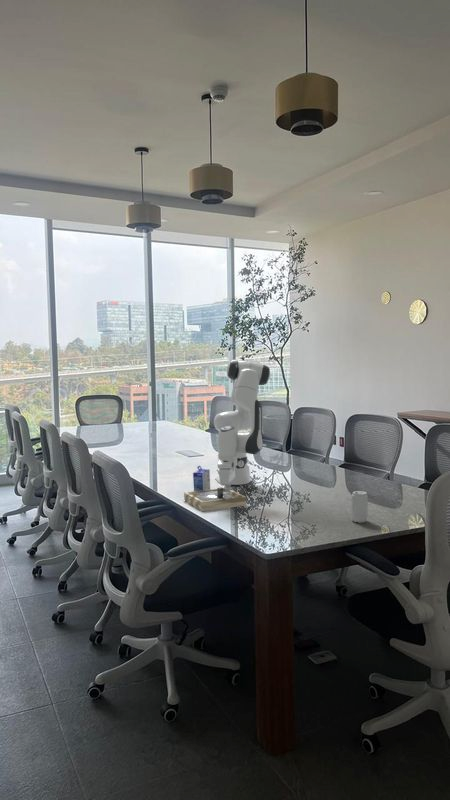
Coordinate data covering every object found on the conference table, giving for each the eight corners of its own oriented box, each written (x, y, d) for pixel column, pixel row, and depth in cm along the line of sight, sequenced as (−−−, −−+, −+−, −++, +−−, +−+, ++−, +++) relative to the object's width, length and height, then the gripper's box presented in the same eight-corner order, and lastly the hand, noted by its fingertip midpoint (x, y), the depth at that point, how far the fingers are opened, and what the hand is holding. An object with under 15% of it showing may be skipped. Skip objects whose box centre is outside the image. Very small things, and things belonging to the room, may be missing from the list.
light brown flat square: (184, 500, 281) (184, 491, 280) (226, 495, 290) (226, 487, 290) (201, 511, 261) (201, 501, 261) (246, 505, 270) (246, 496, 270)
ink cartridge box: (200, 492, 298) (200, 464, 297) (210, 493, 296) (210, 464, 295) (193, 497, 288) (192, 467, 287) (203, 497, 287) (203, 468, 286)
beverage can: (349, 519, 244) (349, 490, 243) (364, 518, 244) (364, 490, 244) (354, 523, 238) (354, 494, 237) (369, 523, 238) (369, 493, 237)
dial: (191, 496, 279) (191, 483, 279) (223, 492, 286) (223, 480, 286) (205, 504, 264) (204, 490, 264) (238, 499, 271) (238, 487, 271)
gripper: (224, 458, 284) (225, 486, 285) (216, 465, 264) (217, 496, 264) (237, 458, 283) (238, 486, 283) (230, 465, 262) (231, 496, 263)
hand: (228, 491), depth 274 cm, fingers closed
